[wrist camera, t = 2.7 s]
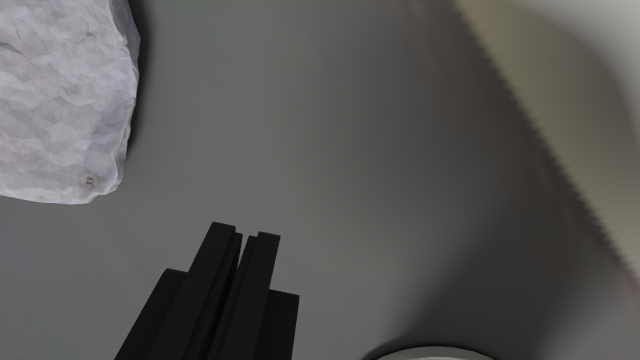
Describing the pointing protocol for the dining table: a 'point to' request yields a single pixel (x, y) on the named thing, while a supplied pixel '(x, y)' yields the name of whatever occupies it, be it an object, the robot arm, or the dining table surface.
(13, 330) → the dining table surface
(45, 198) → the stone block
